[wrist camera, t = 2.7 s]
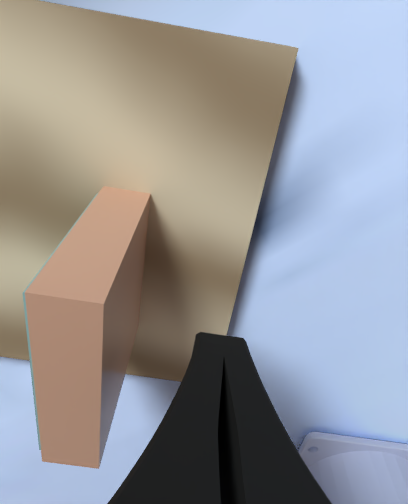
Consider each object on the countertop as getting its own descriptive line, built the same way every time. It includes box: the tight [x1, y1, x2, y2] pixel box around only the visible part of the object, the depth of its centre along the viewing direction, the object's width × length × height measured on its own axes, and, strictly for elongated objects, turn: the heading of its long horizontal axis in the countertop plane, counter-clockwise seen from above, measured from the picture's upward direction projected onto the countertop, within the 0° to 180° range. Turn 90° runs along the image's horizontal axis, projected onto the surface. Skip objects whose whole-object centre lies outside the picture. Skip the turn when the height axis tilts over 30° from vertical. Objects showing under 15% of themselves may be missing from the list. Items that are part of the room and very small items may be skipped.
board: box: [0, 0, 298, 382], centre depth 14 cm, size 14×13×1 cm
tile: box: [23, 186, 151, 469], centre depth 12 cm, size 6×2×6 cm, turn 171°
